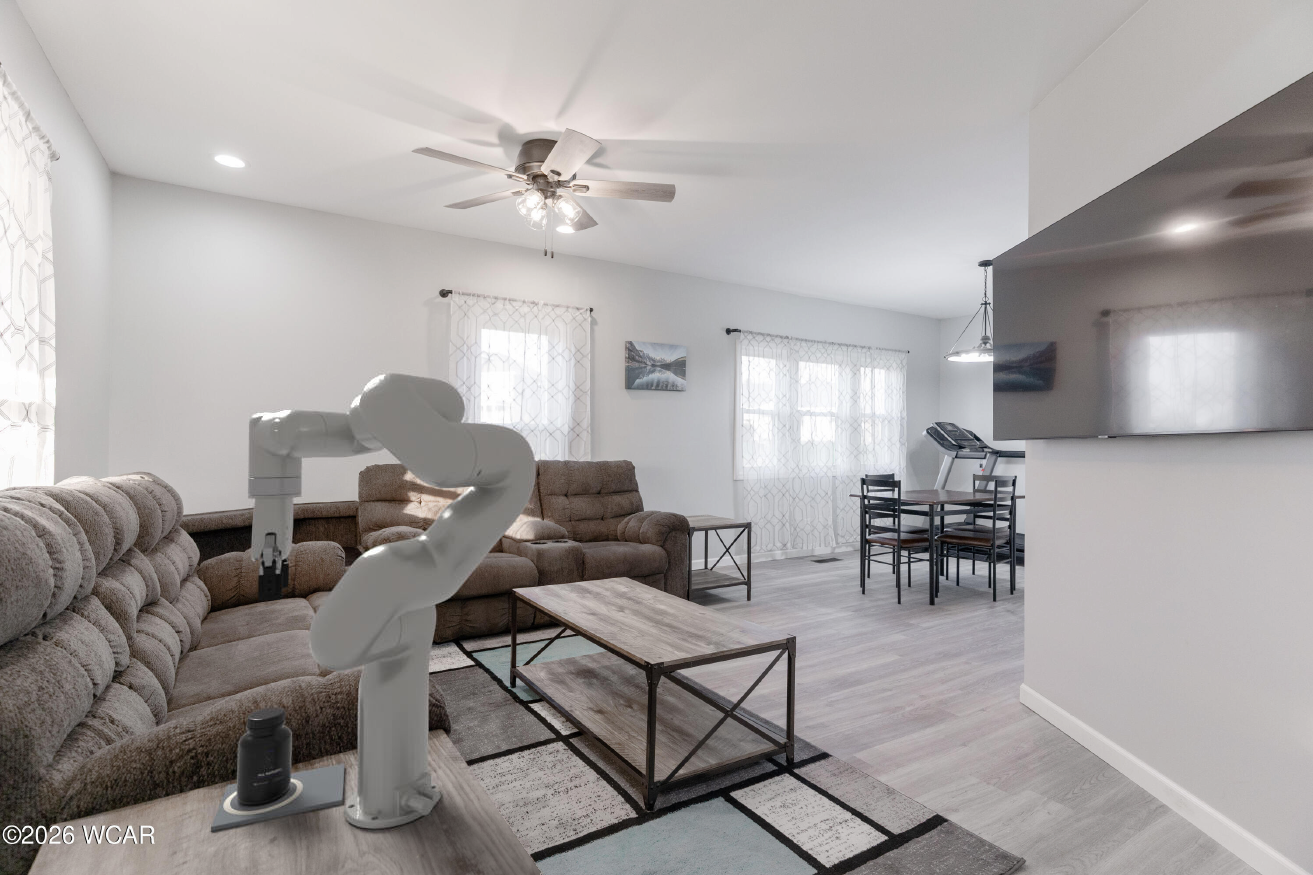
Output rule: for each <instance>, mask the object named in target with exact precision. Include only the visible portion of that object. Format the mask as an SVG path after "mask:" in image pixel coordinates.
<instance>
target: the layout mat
mask: <svg viewBox="0 0 1313 875" xmlns="http://www.w3.org/2000/svg"><path fill="white" fill-rule="evenodd" d="M344 777H345V763H339V764H335V765H330V766H324V767H319V768H313V769H312V768H311V769H307V770H303V771H298V772H291V783H290V789H289V791H288V793H287V794H286V795H285V796H284V797H282V798H281V799H279V800H277V801H275V802H272V803H269V804H266V805H261V806H253V807H249V806H243V805H241V804H239V803H238V801H237V783H233V784H227V786H226V789H225V791H224V793H223V796H222V798H221V801H220V803H219V806H218V808H217V811H216V813H215V816H214V818H213V821H212V823H211V826H210V832H215V831H220V830H223V829H224V830H225V829H229V828H233V827H237V826H238V827H239V826H243V825H248V824H252V823H258V822H261V821H262V822H263V821H266V820H271V819H278V818H281V817H286V816H291V815H295V814H300V813H304V812H310V811H315V810H319V809H325V808H330V807H333V806H340V805H343V799H344V783H345V782H344V780H345V778H344Z"/></svg>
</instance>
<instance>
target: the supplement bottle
mask: <svg viewBox="0 0 1313 875" xmlns="http://www.w3.org/2000/svg"><path fill="white" fill-rule="evenodd" d="M246 718H247V719H246V726H245V729H246V731H247V732H245V733H244V734H243V735H242V736H241V737H240V739H239V740H238V745H237V763H236V764H237V770H236V772H237V773H236V784H237V801H238V803H239V804H241V805H243V806H249V807H253V806H261V805H266V804H269V803H272V802H275V801H277V800H279V799H281V798H282V797H284V796H285V795H286V794H287V793H288V791H289V789H290V783H291V773H292V752H293V751H292V750H293V749H292V748H293V747H292V745H293V743H292V742H293V733H292V730H291V729H290V728H289V727H288V726H286V725H285V723H286V709H285V708H282V707H264V708H261V709H257V710H254V711H253V712H251V713H249V714H248V715H247V717H246Z"/></svg>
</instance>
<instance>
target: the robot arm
mask: <svg viewBox="0 0 1313 875" xmlns="http://www.w3.org/2000/svg"><path fill="white" fill-rule="evenodd" d="M465 409H466V407H465V401H464V399H463V395H462V394H461V393H460V392H459V390H458V389H457V388H456V387H455V386H453V385H452V384H450V383H448V382H446V381H443V380H441V379H437V378H432V377H431V378H430V377H424V376H423V377H422V376H417V375H411V374H404V373H403V374H402V373H395V372H394V373H384V374H381V375H379V376H377V377H375V378H373V379H372V380H371V381H370V382H367V384H366V385H365V387H364V388H363V389H362V392H361V393H360V395H358V397H356V398H355V399H354V400H353V402H352V403H351V406H350V407H349V411H348V412H334V411H324V410H323V411H321V410H301V409H288V410H286V409H285V410H282V411H279V412H260V413H256V414H253V415H252V416H251V417H250V419H249V422H248V478H247V481H248V482H247V486H248V487H247V498H248V499H250V500H253V499H254V505H253V513H252V530H251V546H250V547H251V550H250V559H251V560H252V561H253V562H257V561H258V560H259V559H260V561H259V572H258V577H257V578H258V580H257V584H258V585H257V600H258V601H259V602H265V601H277V600H281V599H282V598H283V588H284V589H285V588H288V587H289V584H290V582H289V581H290V579H289V578H290V563H289V558H288V556H289V555H290V554H291V551H292V544H293V531H294V498H300V497H302V489H303V488H302V486H303V485H302V482H303V481H302V478H303V477H302V475H303V474H302V470H303V466H302V464H303V459H311V458H348V457H355V456H362V455H367V454H372V453H378V452H381V451H382V450H384V449H386V450H387V451H388V452H389V453H390V454H391V455H392V456H393V457H394V458H396V460H397V461H399V463H401V465H402V466H404V467H405V469H407V470H408V471H409V472H410V473H411V474H412V475H413V476H414V477H415V478H417V479H418V480H419V481H421V482H422V483H424V484H426V485H428V486H430V487H433V488H434V487H435V488H438V489H457V488H458V489H460V488H467V490H465V491H464V492H463V493H462V494H461V495H459V496H458V497H456V498H455V499H453V501H452V502H450V503H449V504H447V506H446V507H445V508H444V509H442V511H441V512H440V514H439V515H438V517H437V518H436V520H434V522H433V523H432V524H431V525H430V526H429V527H428V528H427V529H426V530H425V532H423V533H422V534H421V535H418V536H416V537H413V538H410V539H405V540H399V541H392V542H388V543H384V544H381V545H377V546H374V547H372V548H370V549H369V550H367V551H365V552H364V553H363V554H361V555H360V556H359V557H358V558H357V559H356V560H355V561H354V562H353V563H352V564H351V565H350V567H349V568H348V569H347V570H346V572H345V573H344V575H343V576H342V577H341V578H340V580H339V581H338V582H337V584H336V585H335V586H334V587H333V589H332V590H331V592H330V593H329V594H328V595H327V597H326V598H325V599H324V601H323V602H322V604H321V605H320V606H319V608H318V609H317V611H316V612H315V614H314V616H313V619H312V621H311V624H310V627H309V632H308V646H309V651H310V655H311V656H312V658H313V659H314V661H315V662H316V663H317V664H319V666H321V667H322V668H324V669H326V670H329V671H332V672H345V671H350V670H354V669H356V668H360V667H362V666H364V667H363V668H362V671H361V675H360V679H359V684H358V695H357V697H358V700H357V701H358V702H357V703H358V704H357V791H355V792H354V793H353V794H352V795H351V796H350V797H349V798H348V799H347V800H346V803H345V807H344V814H345V815H344V816H345V818H346V820H347V822H348V823H350V824H351V825H353V826H356V827H359V828H362V829H363V828H364V829H373V830H375V829H386V828H387V829H388V828H392V827H397V826H400V825H405V824H407V823H410V822H413V821H415V820H417V819H419V818H421V817H422V816H427V815H428V814H430V812H432V810H433V808H434V807H435V806H436V804H437V803H438V801H439V800H440V799H441V796H442V795H441V792H440V788H439V785H438V783H437V782H436V781H435V780H433V779H432V773H430V772H429V693H430V689H429V688H430V661H431V660H430V659H431V654H432V652H431V650H432V646H433V641H434V636H435V632H436V631H435V630H436V624H437V610H436V609H437V608H436V605H437V604H440V603H442V602H445V601H447V600H448V599H451V597H453V596H454V595H455V594H456V593H457V592H458V590H459V589H460V588H461V587H462V586H463V584H464V583H465V582H466V580H468V578H469V577H470V576H471V575H472V574H473V572H474V571H475V570H476V569H477V567H478V566H479V565H480V564H481V563H482V561H483V560H484V559H485V558H486V557H487V555H488V554H489V552H490V551H491V550H492V549H493V547H494V546H495V545H496V544H497V543H498V542H499V540H500V539H501V538H502V537H503V536H504V535H505V534H506V533H507V532H508V530H510V528H511V527H512V526H513V524H515V522H517V519H519V517H520V516H521V515H522V513H523V511H524V510H525V508H526V507H527V505H528V503H529V501H530V500H531V499H530V498H531V497H532V493H533V491H534V487H535V484H536V483H535V482H536V473H537V472H536V471H537V469H536V459H535V454H534V451H533V449H532V446H531V445H530V443H529V441H528V440H527V439H526V437H524V436H523V435H522V434H521V433H520V432H519V431H517V430H514V429H512V428H509V427H507V426H504V425H500V424H499V425H498V424H490V423H476V422H474V423H473V422H462V421H463V418H464V416H465V414H466V412H465V411H466V410H465Z"/></svg>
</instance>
